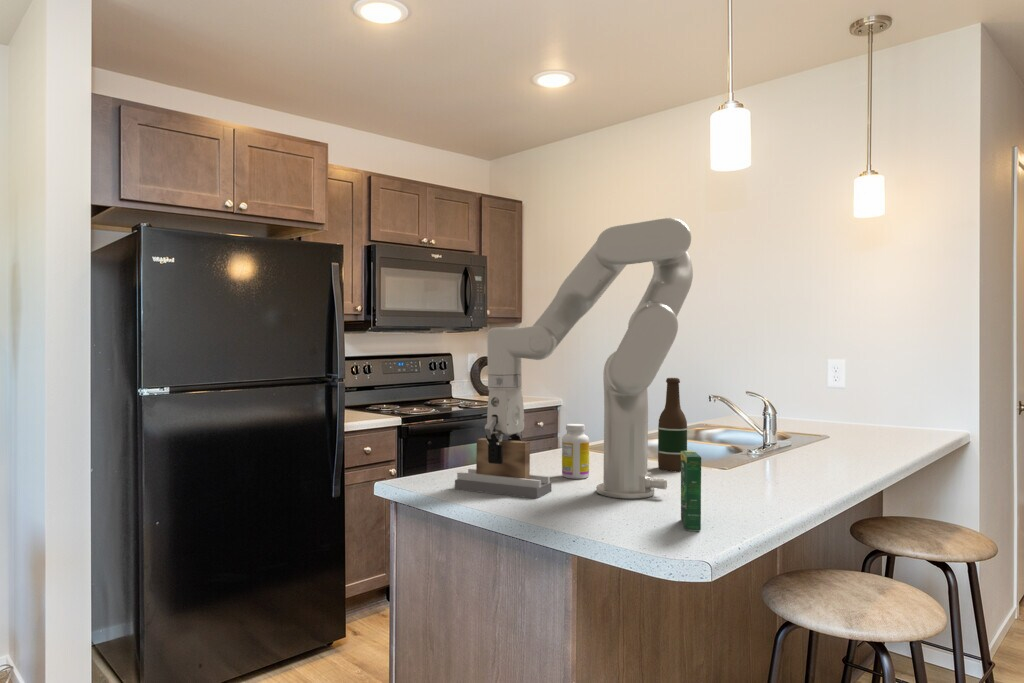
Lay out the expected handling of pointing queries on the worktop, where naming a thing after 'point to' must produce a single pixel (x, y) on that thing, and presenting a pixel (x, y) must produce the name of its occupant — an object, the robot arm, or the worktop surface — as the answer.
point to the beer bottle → (671, 430)
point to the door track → (504, 484)
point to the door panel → (505, 459)
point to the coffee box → (691, 490)
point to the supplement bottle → (575, 452)
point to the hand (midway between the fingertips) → (505, 459)
